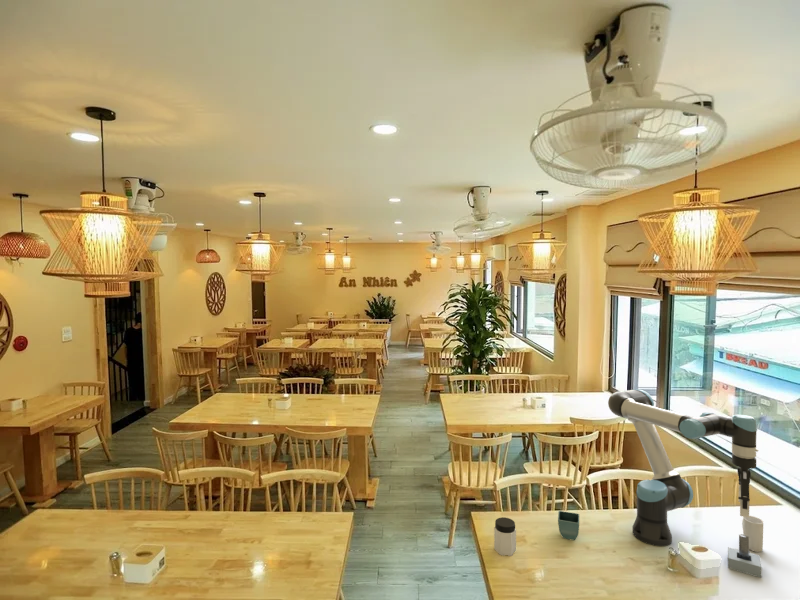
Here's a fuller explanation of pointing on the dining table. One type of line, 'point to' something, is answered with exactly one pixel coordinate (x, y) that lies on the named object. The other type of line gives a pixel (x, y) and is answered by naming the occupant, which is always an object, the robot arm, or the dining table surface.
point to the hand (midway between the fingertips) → (743, 509)
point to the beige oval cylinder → (753, 532)
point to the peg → (743, 547)
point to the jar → (505, 536)
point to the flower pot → (568, 524)
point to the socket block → (744, 563)
